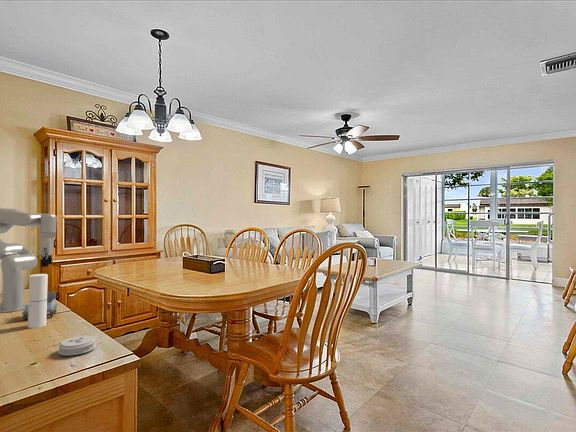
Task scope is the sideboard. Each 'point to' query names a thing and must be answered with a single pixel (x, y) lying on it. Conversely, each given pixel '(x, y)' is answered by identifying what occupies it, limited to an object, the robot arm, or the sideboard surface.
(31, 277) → the cylindrical container
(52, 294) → the grey open box
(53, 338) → the sideboard surface
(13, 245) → the robot arm
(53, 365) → the sideboard surface
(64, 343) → the lid
